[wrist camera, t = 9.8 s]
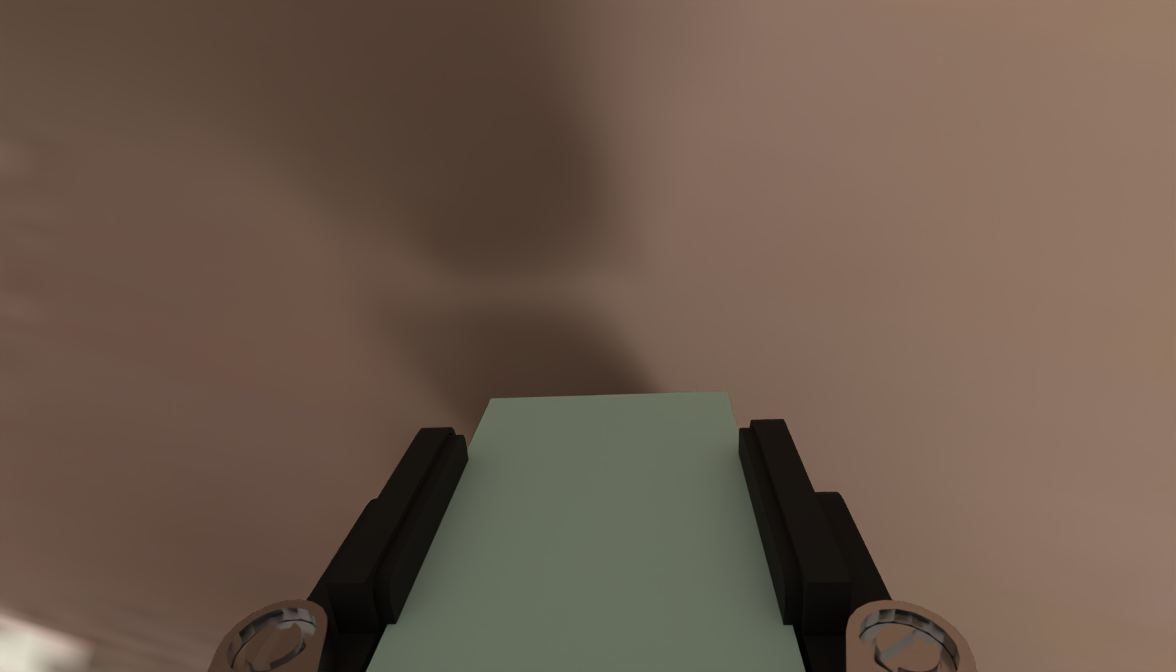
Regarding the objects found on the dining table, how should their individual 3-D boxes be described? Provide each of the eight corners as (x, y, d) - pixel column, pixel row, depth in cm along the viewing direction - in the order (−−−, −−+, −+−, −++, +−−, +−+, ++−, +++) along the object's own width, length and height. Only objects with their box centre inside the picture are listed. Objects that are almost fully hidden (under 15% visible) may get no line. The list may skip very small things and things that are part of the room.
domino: (726, 457, 14) (856, 1026, 6) (500, 462, 14) (309, 993, 6) (727, 390, 13) (873, 919, 5) (490, 398, 14) (264, 892, 5)
